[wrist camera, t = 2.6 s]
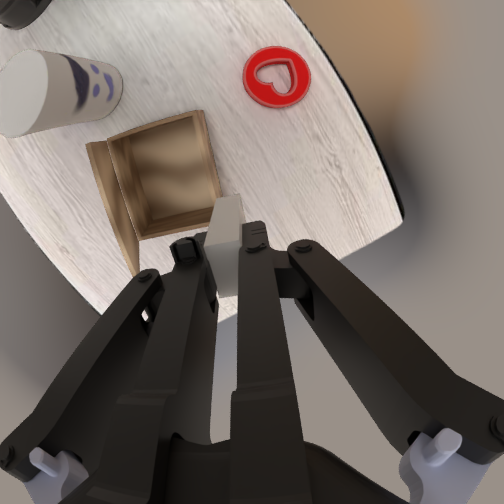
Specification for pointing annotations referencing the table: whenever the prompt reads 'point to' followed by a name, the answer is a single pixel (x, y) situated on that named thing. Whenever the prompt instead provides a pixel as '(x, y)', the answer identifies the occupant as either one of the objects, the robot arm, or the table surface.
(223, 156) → the table surface
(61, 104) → the container
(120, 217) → the lid
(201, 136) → the wooden box
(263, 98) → the decorative ornament
